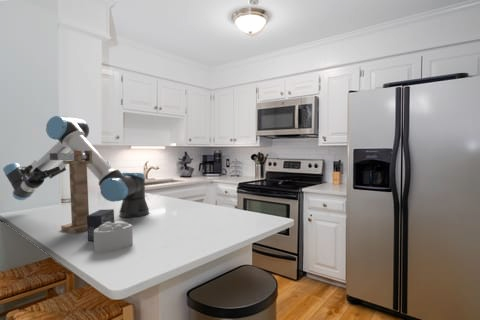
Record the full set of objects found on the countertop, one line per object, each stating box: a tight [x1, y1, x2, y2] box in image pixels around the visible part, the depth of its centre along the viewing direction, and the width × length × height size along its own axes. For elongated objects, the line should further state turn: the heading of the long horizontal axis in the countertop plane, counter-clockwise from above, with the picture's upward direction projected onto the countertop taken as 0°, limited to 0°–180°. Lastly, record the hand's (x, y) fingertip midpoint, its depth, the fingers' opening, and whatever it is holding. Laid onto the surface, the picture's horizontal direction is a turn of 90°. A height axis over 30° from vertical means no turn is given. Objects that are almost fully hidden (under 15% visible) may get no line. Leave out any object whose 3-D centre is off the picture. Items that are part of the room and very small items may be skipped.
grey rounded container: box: [93, 220, 134, 253], centre depth 104 cm, size 10×13×9 cm
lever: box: [49, 152, 88, 161], centre depth 129 cm, size 26×3×3 cm, turn 62°
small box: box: [87, 208, 115, 242], centre depth 115 cm, size 11×6×10 cm, turn 178°
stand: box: [60, 150, 93, 235], centre depth 126 cm, size 12×11×36 cm
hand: (51, 162), depth 135 cm, fingers open, 13 cm apart
